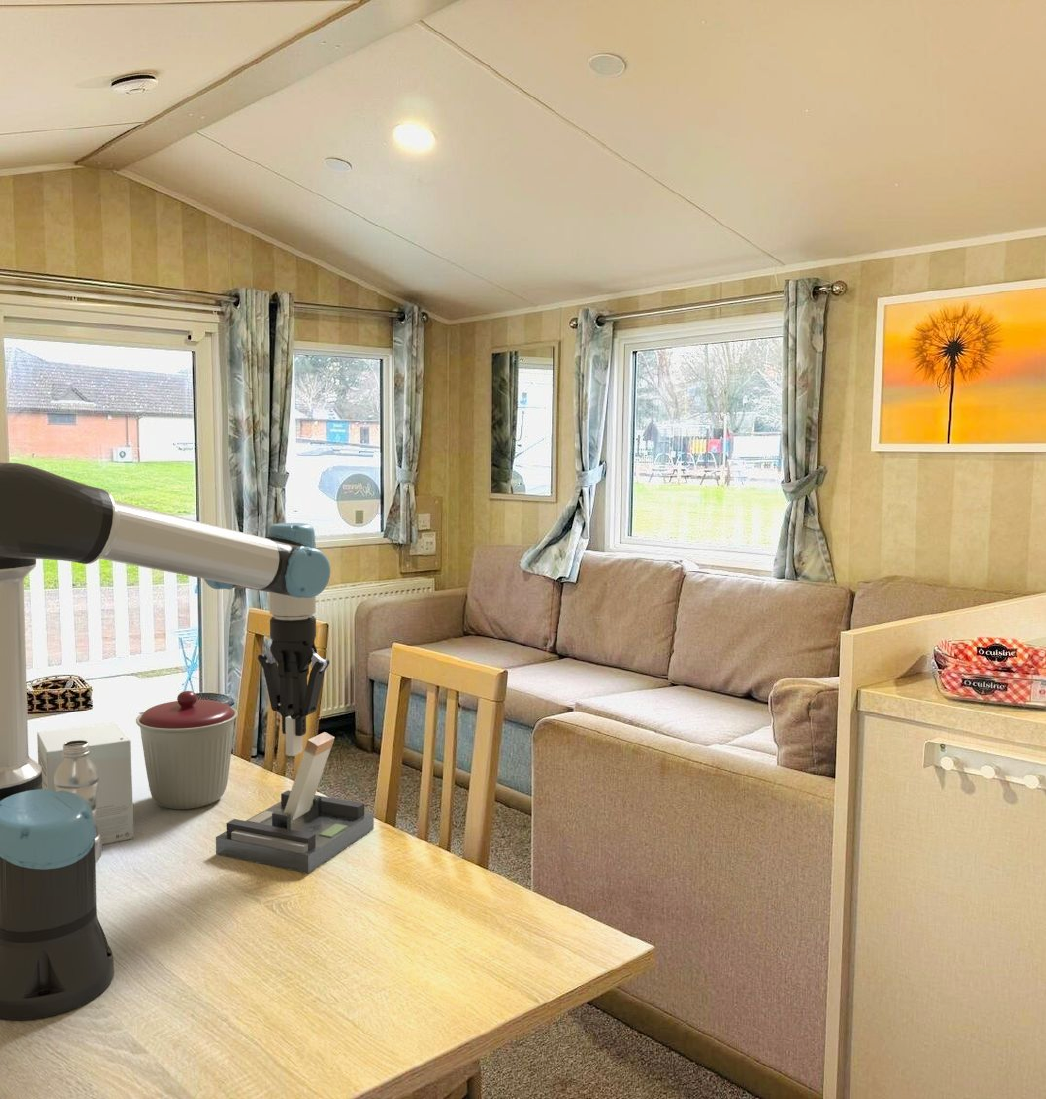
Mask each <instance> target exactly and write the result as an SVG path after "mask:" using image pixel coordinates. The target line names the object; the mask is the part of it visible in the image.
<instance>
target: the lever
mask: <svg viewBox="0 0 1046 1099" xmlns="http://www.w3.org/2000/svg"><path fill="white" fill-rule="evenodd" d="M334 741H335V736H333V735H331V734H329V733H328V732H325V731H324V732H322V733H320V734H318V735H316V736H313V737H311V738H309V739H307V742H306V745H305V748H304V749H303V754H302V757H301V760H300V764H299V766H298V769H297V772H296V776H295V779H294V781H293V784H292V787H291V789H290V791H291V793H290V796H289V799H288V802H287V805H286V808H285V811H284V813H289V814H291V820H292V821H293V820H294V819H296V818H298V817H299V816H301V815H303V814H305V813H306V812H308V811H310V808H311V807H313V799H314V796H315V795H316V794H317V791H318V787H319V785H320V782H321V778H322V775H323V772H324V770H325V768H326V764H327V761H328V757H329V756H330V755H329V754H330V753H331V750H332V747H333V744H334Z"/></svg>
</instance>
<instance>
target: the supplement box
mask: <svg viewBox="0 0 1046 1099" xmlns="http://www.w3.org/2000/svg"><path fill="white" fill-rule="evenodd" d="M36 736H37V763H38V764H39V765H40V766H41V767H42V789H53V790H54V791H55V792H56V788H55V784H54V776H55V772H56V770H57V769H58V767H59V766H60V764H61V763H62V762H63V760H64V758H65V757H63V756H62V753H63V744H64V743H66V742H69V741H75V740H85V741H88V744H89V754H88V755H87V756H88V758H89V759H90V760H91V761H92V762H93V763H94V765H95V766H96V767H97V770H98V773H99V780H98V789H97V806H96V809H97V810H96V815H97V822H98V830H99V834H100V838H101V842H102V845H105V844H106V845H107V844H111V843H116V842H122V841H128V840H132V839H134V811H133V806H134V804H133V784H132V783H133V782H132V777H133V776H132V752H131V750H132V748H131V746H132V745H131V740H130V738H129V737H128V736H127V735H126V733H125V732H124V731H123V729H121V727H120V726H119V724H118V723H117V722H116V721H112V722H105V723H98V724H91V725H83V726H78V727H77V726H76V727H68V728H61V729H55V730H46V731H37V734H36Z"/></svg>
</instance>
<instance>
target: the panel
mask: <svg viewBox="0 0 1046 1099" xmlns="http://www.w3.org/2000/svg"><path fill="white" fill-rule="evenodd" d="M321 796H322V795H318V796H317V794H315V796H314V799H313V807H311V808H310V811H308V812H306V813H305V814H303V815H301V816H299V817H298V818H296V819H294V820H293V821H292V820H291V814H289V813H284V811H285V808H286V805H281V801H279V802H278V803H275V804H273V805H272V806H269V807H267V809H265V810H263V811H260V812H259V813H257V814H255V815H254V816H251V817H250V818H248V819H246V820H245V821H248V822H253V823H259V824H264V825H269V826H274V827H280V828H285V829H290V830H296V831H301V832H306V833H311V834H315V838H316V846H315V847H314V848H312V849H311V850H309V851H307V852H306V853H304V854H301V853H296V852H291V851H286V850H281V849H276V848H271V847H266V846H261V845H256V844H251V843H246V842H241V841H236V840H231V835H227V830H225V832H222V833H221V834H219V835H217V836H215V854H216V855H217V856H221V857H227V858H230V859H236V860H241V861H245V862H249V863H256V864H261V865H264V866H270V867H274V868H279V869H284V870H287V871H288V870H289V871H294V872H299V873H303V874H307V875H308V874H310V873H312V872H314V871H315V870H316V869H318V868H319V867H320V866H322V865H324V863H326V862H328V861H329V860H331V859H332V858H334V857H335V856H336V855H338V854H340V853H341V852H342V851H344V850H345V849H347V848H349V846H351V845H352V844H354V843H355V842H357V841H358V840H359V839H361V838H362V837H364V836H366V835H367V834H369V833H370V832H371V831H372V830H374V828H375V824H374V823H375V821H374V820H375V819H374V811H369V810H368V811H367V810H364V815H363V816H361V817H360V818H353V817H348V816H342V815H336V814H331V813H325V812H322V810H321Z"/></svg>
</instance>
